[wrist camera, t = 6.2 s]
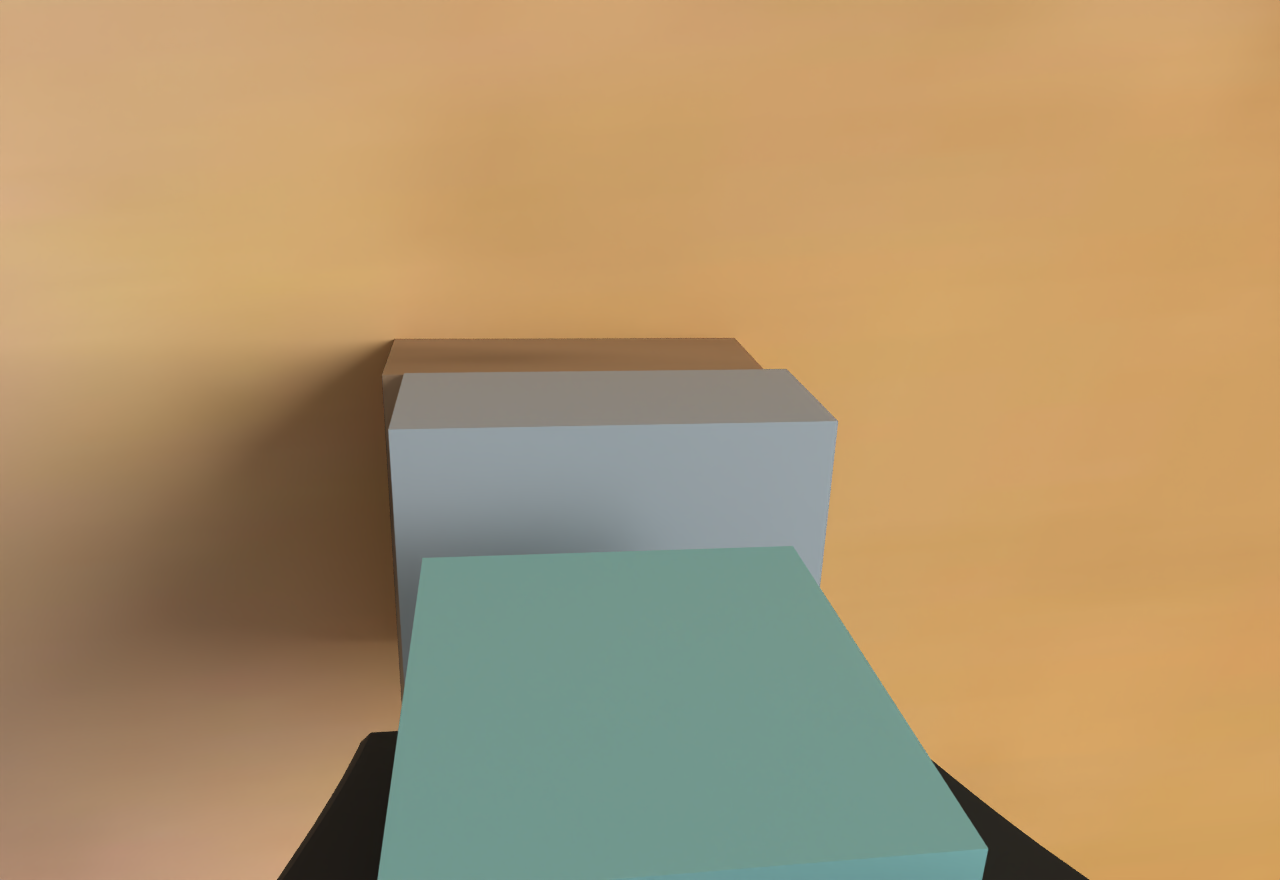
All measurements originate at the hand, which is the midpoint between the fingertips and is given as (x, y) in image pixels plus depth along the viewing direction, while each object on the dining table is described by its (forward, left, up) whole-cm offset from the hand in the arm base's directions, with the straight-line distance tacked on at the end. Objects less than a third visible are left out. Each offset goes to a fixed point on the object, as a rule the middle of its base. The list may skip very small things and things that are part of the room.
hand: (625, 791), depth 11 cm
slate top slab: (0, 0, -6) cm, 6 cm away
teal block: (0, 0, -2) cm, 2 cm away
